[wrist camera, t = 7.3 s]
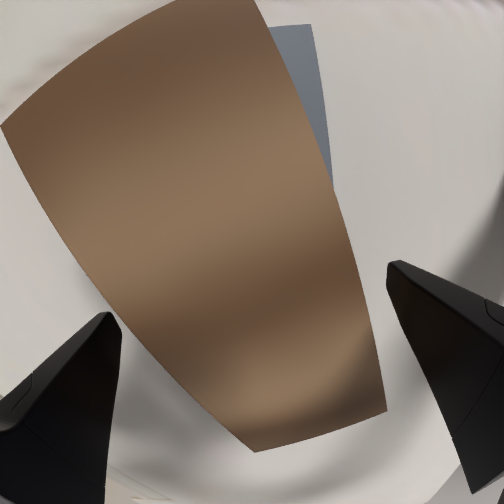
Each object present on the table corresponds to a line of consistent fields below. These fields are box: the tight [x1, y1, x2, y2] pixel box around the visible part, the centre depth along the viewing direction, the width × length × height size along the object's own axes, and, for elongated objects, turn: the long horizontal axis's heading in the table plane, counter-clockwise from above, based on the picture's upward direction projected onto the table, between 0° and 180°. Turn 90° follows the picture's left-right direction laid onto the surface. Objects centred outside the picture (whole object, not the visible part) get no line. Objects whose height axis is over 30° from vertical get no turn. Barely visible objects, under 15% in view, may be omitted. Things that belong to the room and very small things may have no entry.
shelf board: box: [0, 0, 387, 453], centre depth 10 cm, size 16×6×3 cm, turn 24°
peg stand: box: [268, 24, 334, 189], centre depth 13 cm, size 17×9×5 cm, turn 10°
